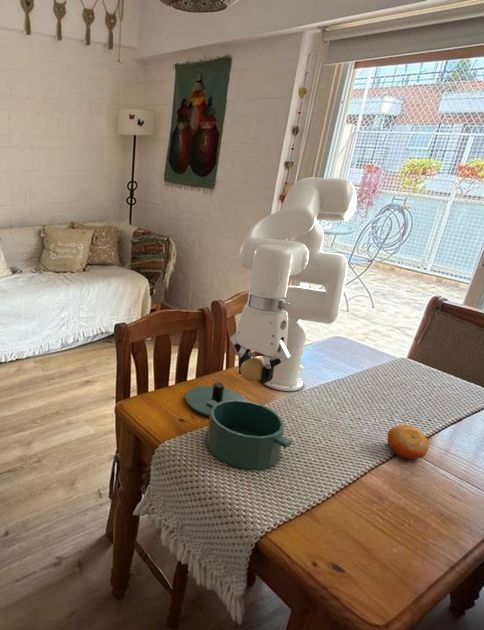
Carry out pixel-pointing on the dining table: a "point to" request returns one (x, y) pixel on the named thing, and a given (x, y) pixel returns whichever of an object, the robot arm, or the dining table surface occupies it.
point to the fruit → (407, 442)
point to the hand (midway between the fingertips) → (254, 376)
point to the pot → (245, 434)
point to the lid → (210, 397)
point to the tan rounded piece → (252, 368)
